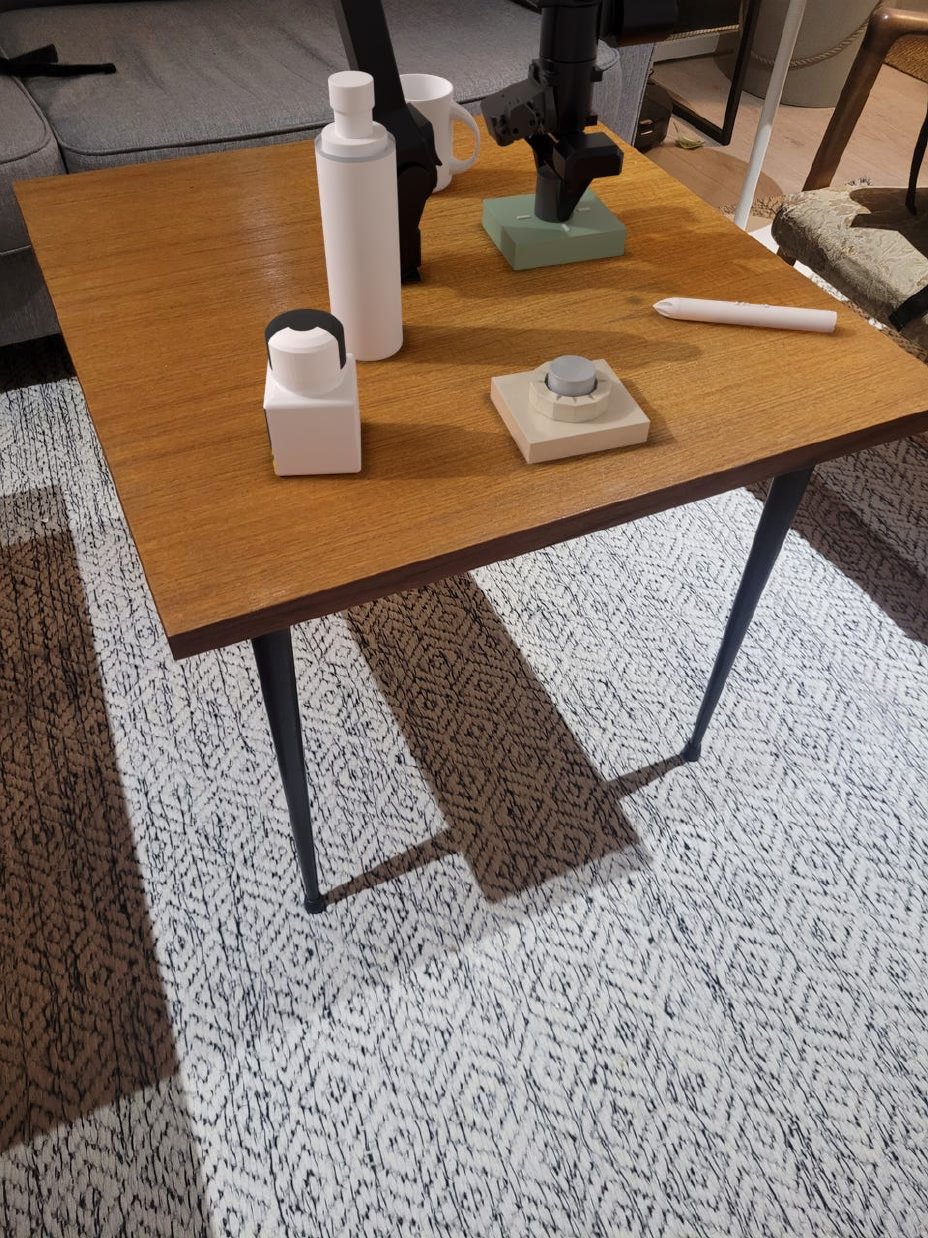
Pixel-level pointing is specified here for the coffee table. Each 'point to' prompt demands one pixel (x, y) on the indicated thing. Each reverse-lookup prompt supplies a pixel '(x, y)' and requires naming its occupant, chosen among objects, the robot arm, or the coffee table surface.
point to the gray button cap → (571, 376)
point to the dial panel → (552, 232)
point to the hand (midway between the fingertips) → (554, 210)
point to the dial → (546, 195)
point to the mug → (440, 120)
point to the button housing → (567, 414)
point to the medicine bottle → (311, 395)
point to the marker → (747, 314)
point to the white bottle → (360, 219)
